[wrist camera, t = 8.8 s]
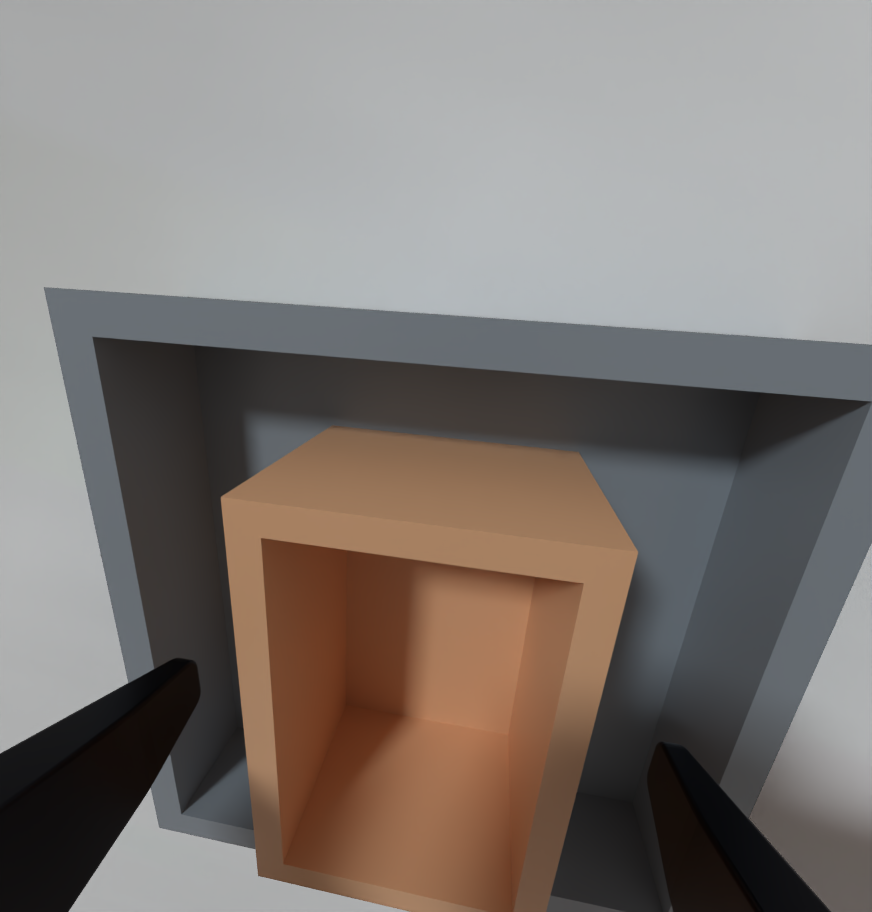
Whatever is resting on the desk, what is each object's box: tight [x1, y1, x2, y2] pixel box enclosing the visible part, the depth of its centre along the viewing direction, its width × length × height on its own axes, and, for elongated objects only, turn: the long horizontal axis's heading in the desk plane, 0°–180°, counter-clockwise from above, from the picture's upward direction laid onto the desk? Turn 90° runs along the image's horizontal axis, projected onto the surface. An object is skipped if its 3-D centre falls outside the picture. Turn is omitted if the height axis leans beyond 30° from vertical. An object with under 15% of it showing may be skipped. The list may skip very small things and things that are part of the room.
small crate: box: [221, 425, 638, 912], centre depth 10 cm, size 6×9×4 cm, turn 176°
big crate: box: [44, 287, 872, 912], centre depth 11 cm, size 15×15×4 cm
